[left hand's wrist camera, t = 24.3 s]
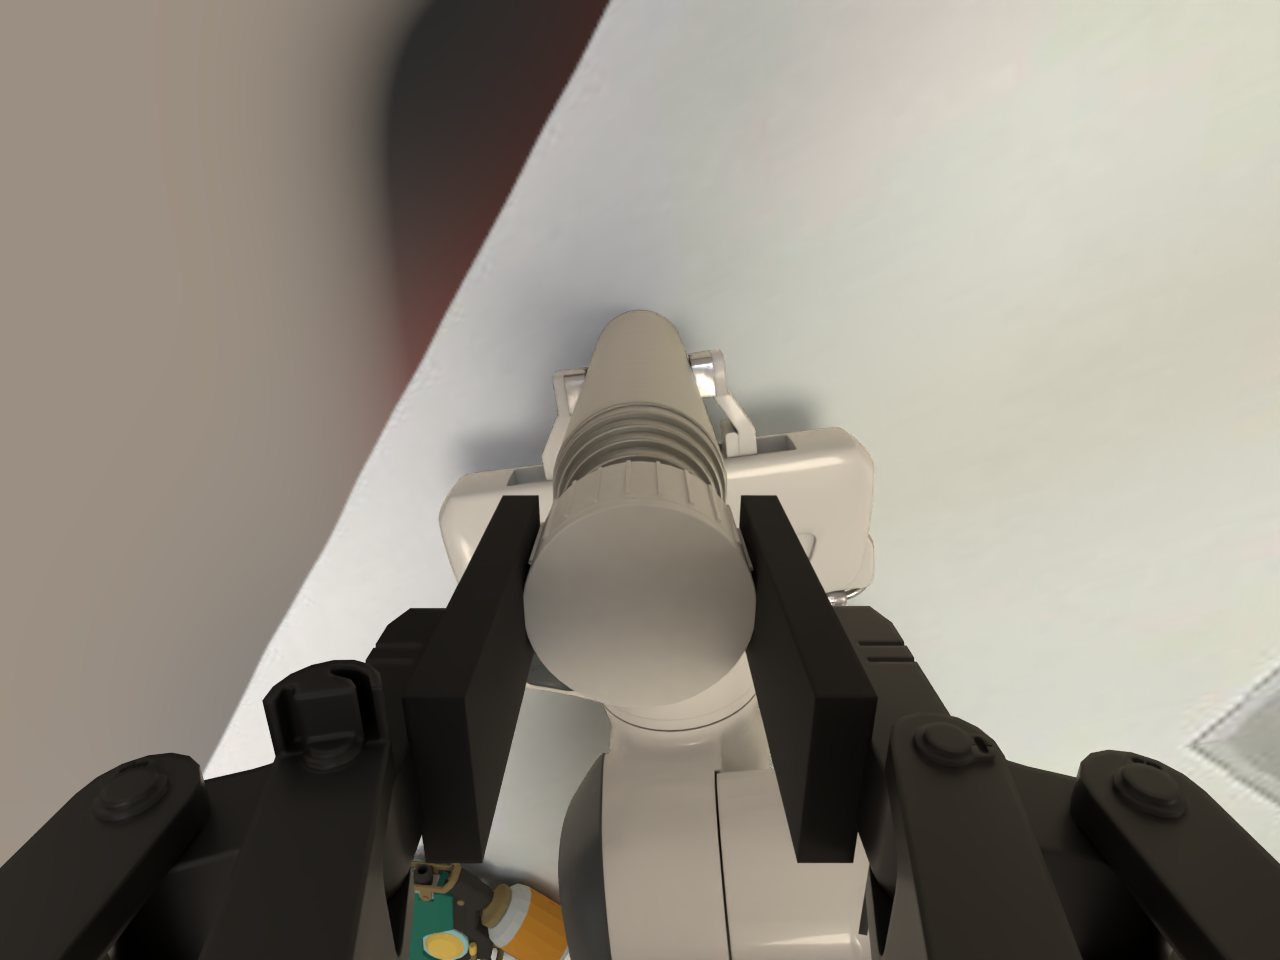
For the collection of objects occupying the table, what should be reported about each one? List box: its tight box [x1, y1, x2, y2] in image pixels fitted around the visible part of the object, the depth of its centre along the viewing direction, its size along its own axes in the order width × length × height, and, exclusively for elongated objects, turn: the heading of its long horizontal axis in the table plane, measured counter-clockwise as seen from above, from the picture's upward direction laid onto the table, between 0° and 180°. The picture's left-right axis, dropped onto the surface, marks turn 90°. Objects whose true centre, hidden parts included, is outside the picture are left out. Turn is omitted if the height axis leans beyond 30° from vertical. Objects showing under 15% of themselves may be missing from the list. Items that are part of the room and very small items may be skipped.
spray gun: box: [409, 861, 569, 960], centre depth 51 cm, size 4×17×15 cm
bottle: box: [553, 310, 727, 505], centre depth 25 cm, size 5×5×26 cm
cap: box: [523, 460, 756, 708], centre depth 14 cm, size 4×4×2 cm
